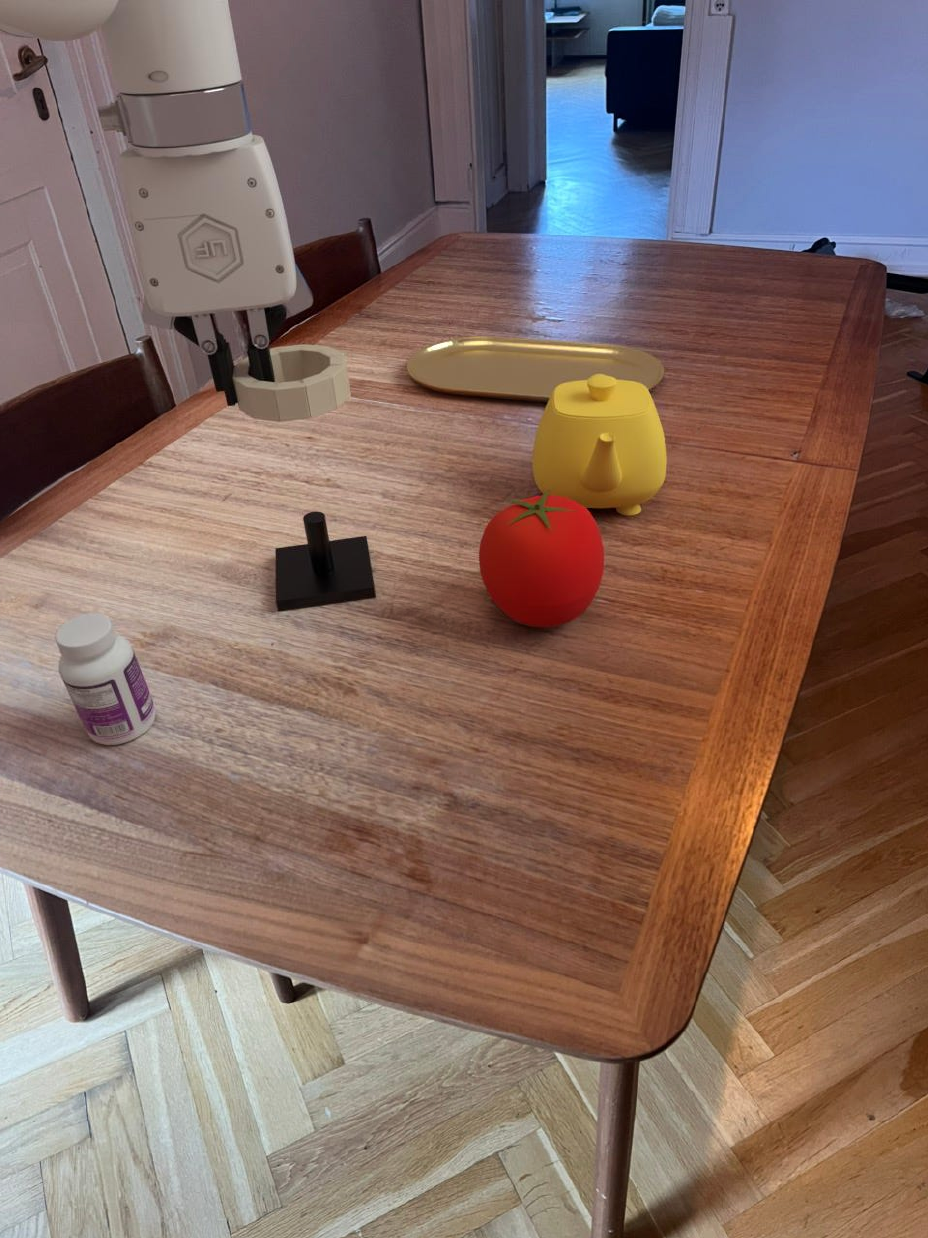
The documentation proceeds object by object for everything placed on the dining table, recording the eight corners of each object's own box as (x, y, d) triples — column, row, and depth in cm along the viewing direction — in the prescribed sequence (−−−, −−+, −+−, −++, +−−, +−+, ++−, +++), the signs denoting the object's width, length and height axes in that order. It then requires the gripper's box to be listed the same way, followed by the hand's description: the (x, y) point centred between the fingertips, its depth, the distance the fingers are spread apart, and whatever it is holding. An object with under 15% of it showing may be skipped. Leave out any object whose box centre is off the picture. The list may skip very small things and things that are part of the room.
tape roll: (236, 427, 64) (229, 394, 62) (242, 382, 70) (235, 351, 69) (353, 413, 64) (348, 380, 63) (347, 369, 71) (343, 339, 69)
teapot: (656, 455, 100) (665, 345, 92) (673, 553, 84) (686, 431, 77) (534, 456, 101) (533, 347, 94) (529, 553, 86) (527, 432, 78)
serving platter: (650, 417, 108) (651, 405, 107) (386, 393, 118) (385, 382, 117) (673, 359, 122) (674, 348, 121) (435, 342, 132) (434, 332, 131)
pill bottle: (125, 692, 73) (88, 598, 67) (171, 713, 70) (137, 617, 65) (72, 734, 69) (28, 638, 63) (119, 757, 67) (78, 660, 61)
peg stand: (277, 611, 81) (263, 550, 76) (277, 558, 88) (264, 499, 83) (376, 597, 81) (367, 535, 77) (367, 545, 88) (359, 486, 84)
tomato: (628, 607, 78) (636, 500, 72) (547, 664, 73) (547, 555, 66) (540, 562, 84) (540, 460, 78) (460, 611, 79) (452, 507, 72)
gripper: (46, 141, 52) (135, 430, 63) (314, 118, 53) (355, 405, 64) (71, 121, 58) (149, 389, 69) (312, 100, 59) (349, 366, 70)
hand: (248, 395), depth 67 cm, fingers closed on tape roll, 1 cm apart
